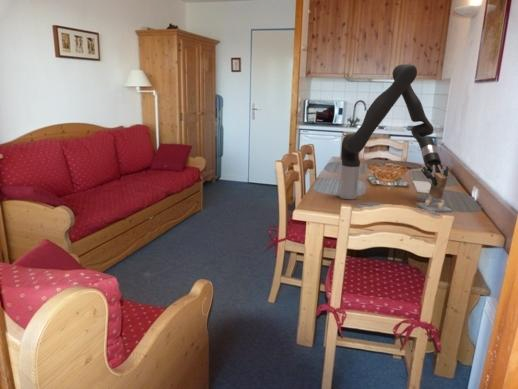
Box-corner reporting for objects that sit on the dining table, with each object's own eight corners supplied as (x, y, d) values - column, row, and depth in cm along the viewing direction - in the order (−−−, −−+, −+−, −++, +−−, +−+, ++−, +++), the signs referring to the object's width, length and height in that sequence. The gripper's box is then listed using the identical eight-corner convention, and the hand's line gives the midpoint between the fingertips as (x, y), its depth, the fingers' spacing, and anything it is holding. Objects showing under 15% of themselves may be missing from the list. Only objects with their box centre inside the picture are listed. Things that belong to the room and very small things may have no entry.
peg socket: (428, 211, 193) (429, 203, 192) (416, 204, 205) (417, 197, 204) (452, 211, 194) (453, 204, 193) (438, 204, 206) (439, 197, 205)
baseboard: (432, 184, 255) (412, 182, 257) (433, 180, 254) (412, 178, 257) (440, 196, 226) (417, 194, 229) (440, 191, 225) (418, 189, 228)
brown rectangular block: (434, 198, 196) (440, 177, 191) (428, 192, 201) (434, 172, 196) (441, 198, 196) (447, 177, 191) (435, 192, 201) (441, 172, 196)
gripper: (420, 151, 199) (429, 181, 190) (447, 151, 200) (457, 181, 192) (414, 160, 205) (422, 189, 197) (440, 160, 207) (449, 189, 198)
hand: (439, 185), depth 194 cm, fingers closed on brown rectangular block, 3 cm apart
